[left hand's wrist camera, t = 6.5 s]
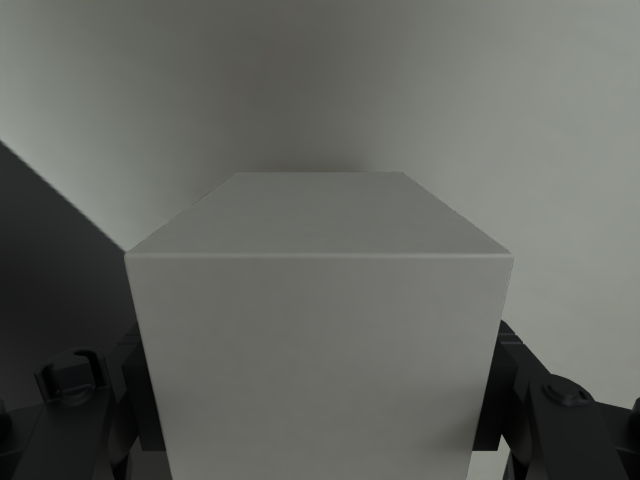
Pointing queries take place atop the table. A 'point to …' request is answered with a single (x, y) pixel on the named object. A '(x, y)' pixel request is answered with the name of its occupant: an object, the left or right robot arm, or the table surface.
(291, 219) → the block
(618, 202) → the table surface
